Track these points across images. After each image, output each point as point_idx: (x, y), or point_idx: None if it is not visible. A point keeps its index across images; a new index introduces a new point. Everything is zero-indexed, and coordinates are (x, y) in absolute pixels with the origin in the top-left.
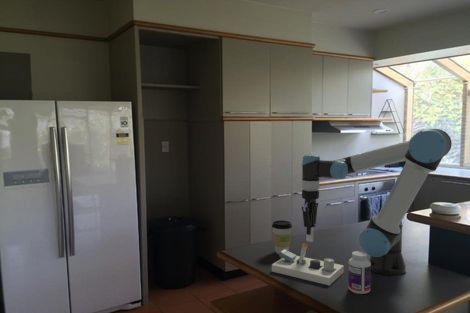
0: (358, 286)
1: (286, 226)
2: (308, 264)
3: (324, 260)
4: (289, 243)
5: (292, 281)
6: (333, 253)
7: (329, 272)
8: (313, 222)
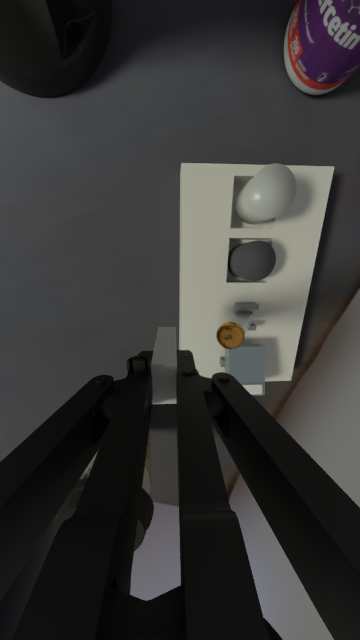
0: None
1: None
2: (239, 290)
3: (283, 209)
4: None
5: (324, 293)
6: (24, 282)
7: None
8: (138, 388)
